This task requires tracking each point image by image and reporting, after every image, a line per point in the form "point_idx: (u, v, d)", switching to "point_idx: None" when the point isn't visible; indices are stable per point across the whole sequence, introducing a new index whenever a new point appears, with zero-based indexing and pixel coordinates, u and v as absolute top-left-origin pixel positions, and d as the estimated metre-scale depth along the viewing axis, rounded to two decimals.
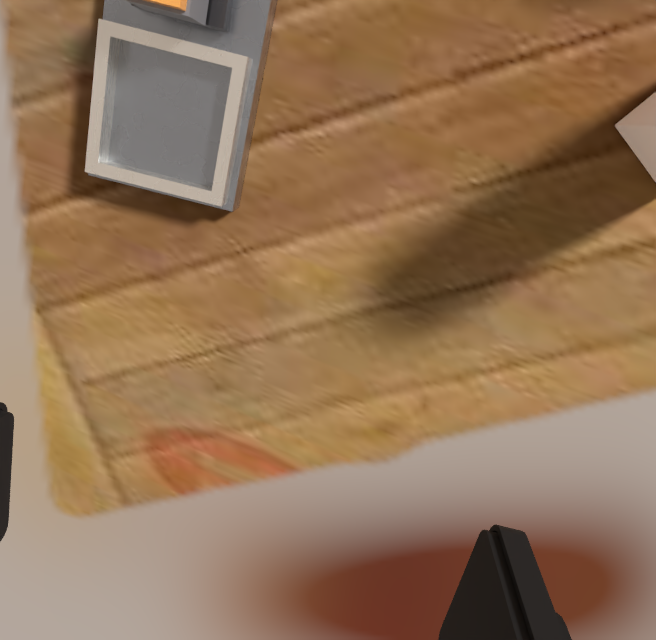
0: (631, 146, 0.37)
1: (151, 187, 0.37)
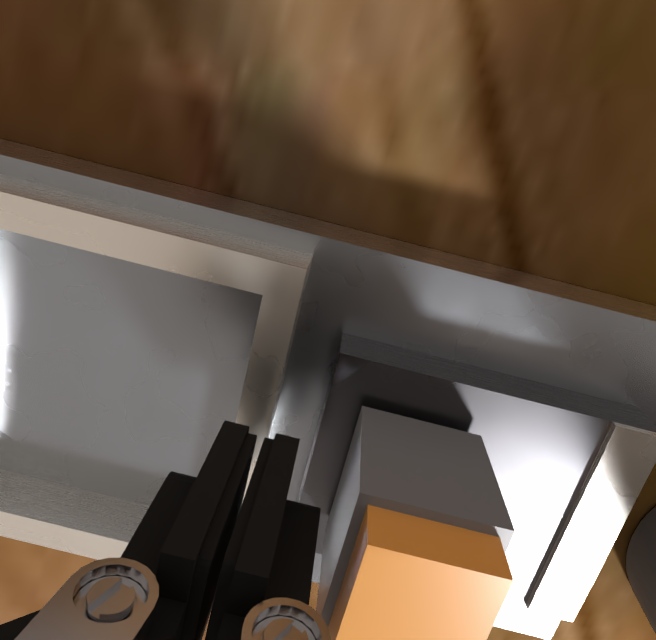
0: None
1: None
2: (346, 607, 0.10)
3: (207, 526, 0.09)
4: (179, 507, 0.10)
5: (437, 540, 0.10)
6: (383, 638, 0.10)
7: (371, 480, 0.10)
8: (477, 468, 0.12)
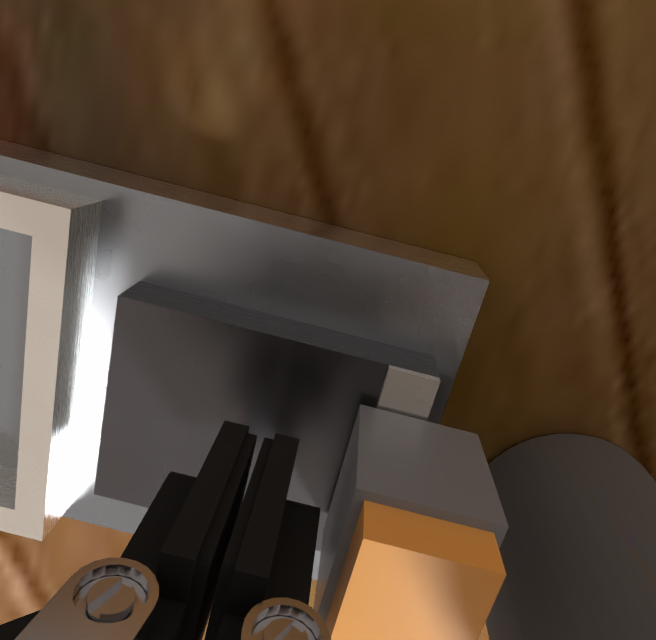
0: None
1: None
2: (342, 600, 0.10)
3: (207, 526, 0.09)
4: (179, 506, 0.10)
5: (432, 535, 0.10)
6: (379, 631, 0.10)
7: (367, 477, 0.10)
8: (473, 464, 0.12)
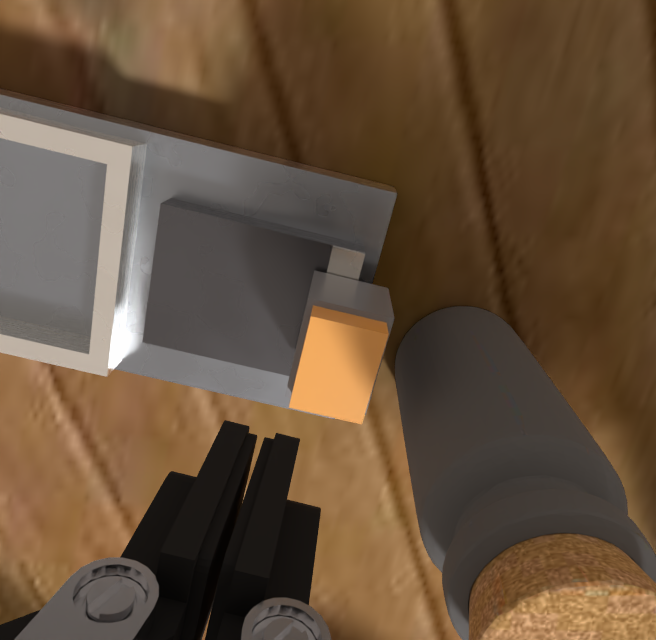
0: None
1: None
2: (301, 356, 0.18)
3: (207, 526, 0.09)
4: (179, 506, 0.10)
5: (350, 319, 0.18)
6: (322, 375, 0.18)
7: (315, 295, 0.18)
8: (381, 298, 0.20)
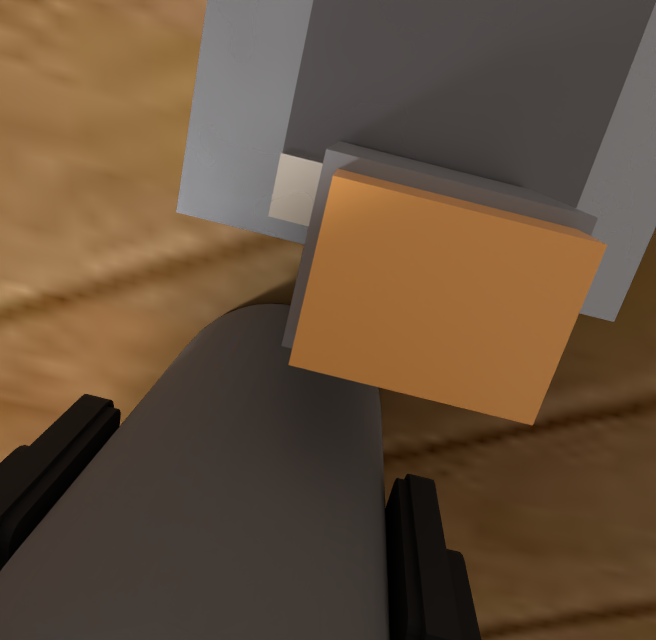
0: None
1: None
2: (488, 214, 0.06)
3: (18, 494, 0.08)
4: None
5: None
6: (430, 269, 0.07)
7: (580, 227, 0.08)
8: None
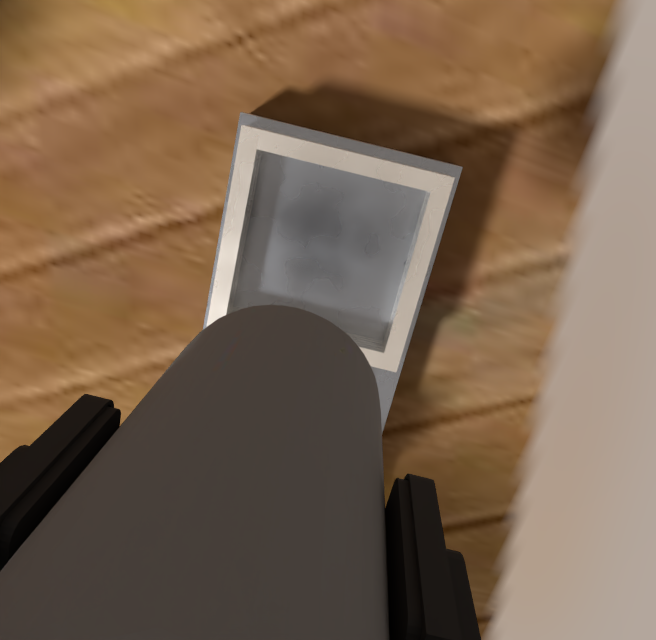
0: None
1: (351, 154, 0.24)
2: None
3: (18, 494, 0.08)
4: None
5: None
6: None
7: None
8: None
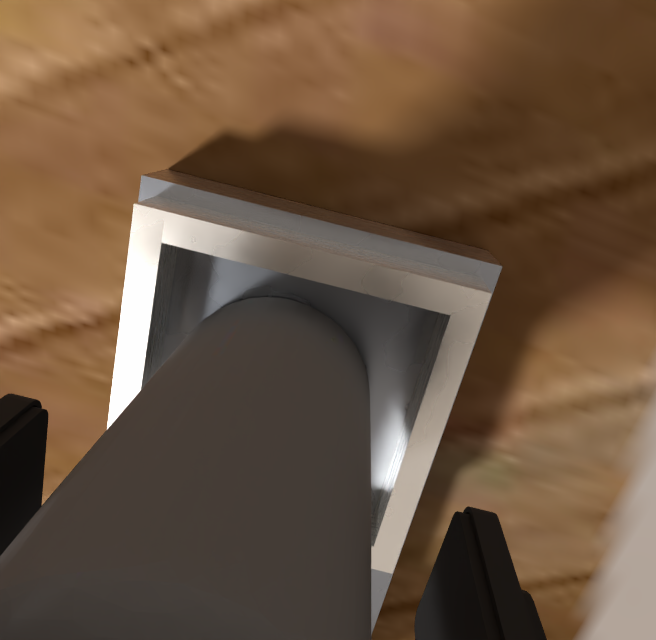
0: None
1: (318, 253, 0.14)
2: None
3: None
4: None
5: None
6: None
7: None
8: None
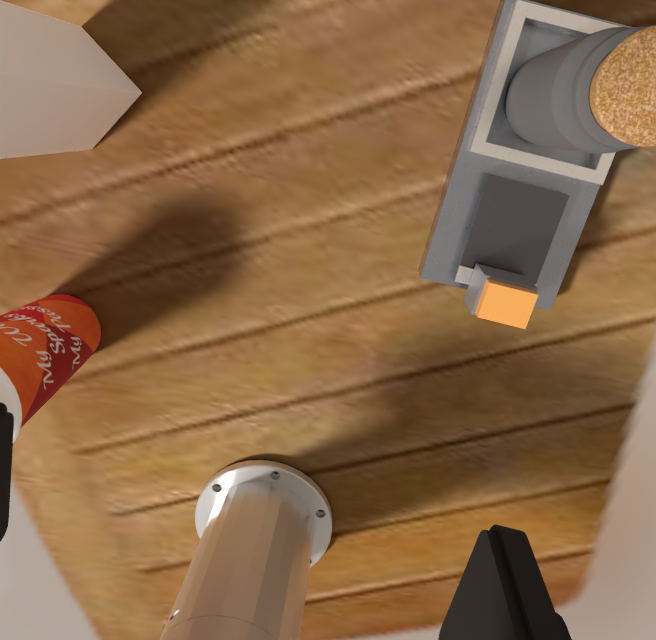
0: (122, 73, 0.40)
1: (591, 20, 0.35)
2: (517, 289, 0.36)
3: None
4: None
5: None
6: (506, 299, 0.36)
7: (535, 289, 0.37)
8: None
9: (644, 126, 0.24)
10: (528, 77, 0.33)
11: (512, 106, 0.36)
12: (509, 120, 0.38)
